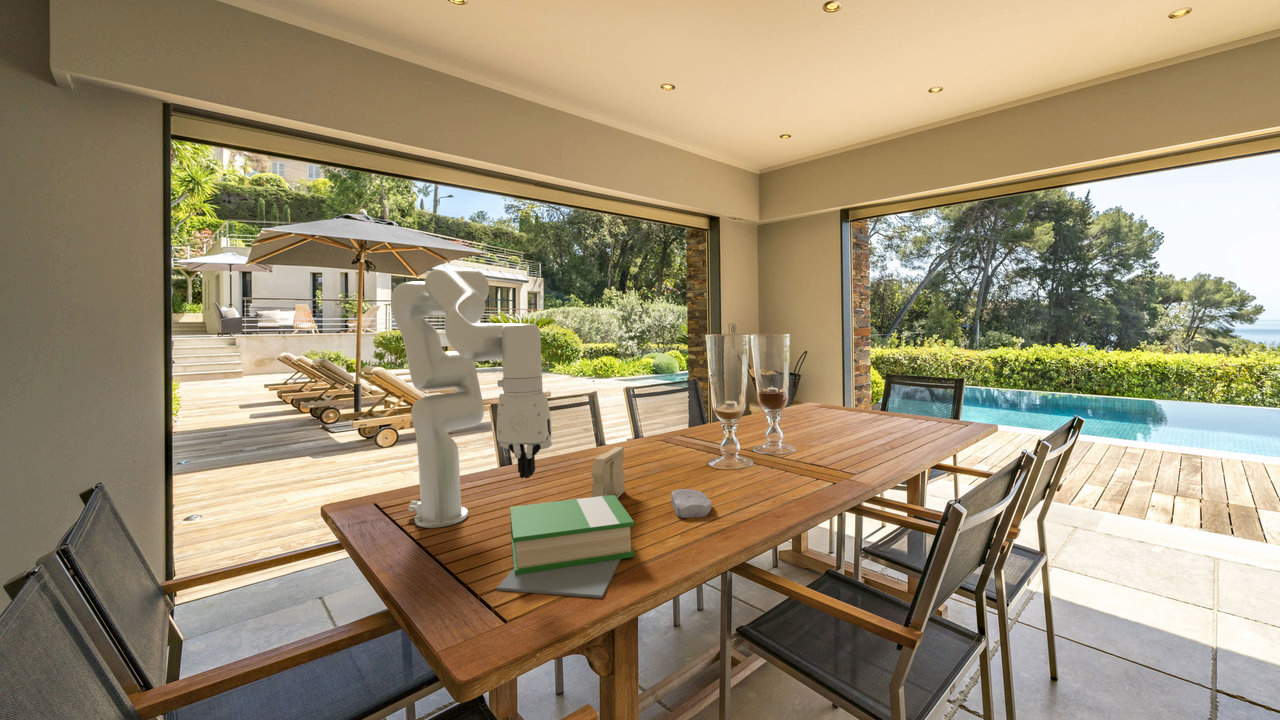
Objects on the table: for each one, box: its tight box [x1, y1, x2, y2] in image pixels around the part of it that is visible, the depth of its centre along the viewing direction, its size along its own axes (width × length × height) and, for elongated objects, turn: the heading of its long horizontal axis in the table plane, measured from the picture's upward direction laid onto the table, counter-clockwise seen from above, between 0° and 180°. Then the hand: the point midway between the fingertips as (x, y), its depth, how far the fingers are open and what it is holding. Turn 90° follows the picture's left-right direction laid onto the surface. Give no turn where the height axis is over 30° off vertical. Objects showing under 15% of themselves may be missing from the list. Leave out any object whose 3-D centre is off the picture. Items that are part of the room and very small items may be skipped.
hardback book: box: [509, 495, 636, 575], centre depth 111 cm, size 18×7×24 cm
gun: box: [590, 446, 626, 500], centre depth 137 cm, size 24×3×15 cm, turn 168°
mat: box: [496, 559, 622, 599], centre depth 104 cm, size 20×22×1 cm
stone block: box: [670, 488, 713, 519], centre depth 133 cm, size 12×5×10 cm
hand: (526, 476), depth 104 cm, fingers closed
